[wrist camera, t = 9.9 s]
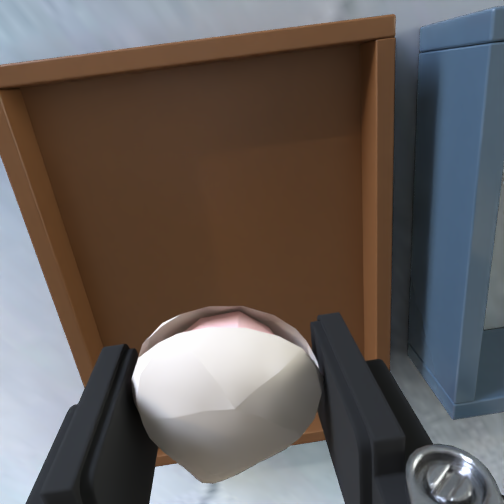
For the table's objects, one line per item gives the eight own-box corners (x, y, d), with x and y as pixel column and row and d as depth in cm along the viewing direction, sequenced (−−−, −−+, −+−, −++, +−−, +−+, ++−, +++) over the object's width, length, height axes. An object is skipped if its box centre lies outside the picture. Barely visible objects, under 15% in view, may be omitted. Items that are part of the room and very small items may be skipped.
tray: (2, 70, 13) (-32, 68, 11) (372, 22, 13) (396, 13, 12) (124, 436, 20) (114, 473, 18) (373, 398, 20) (389, 430, 18)
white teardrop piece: (326, 300, 10) (357, 365, 8) (281, 448, 12) (296, 536, 10) (149, 276, 9) (128, 338, 7) (131, 435, 11) (109, 527, 9)
